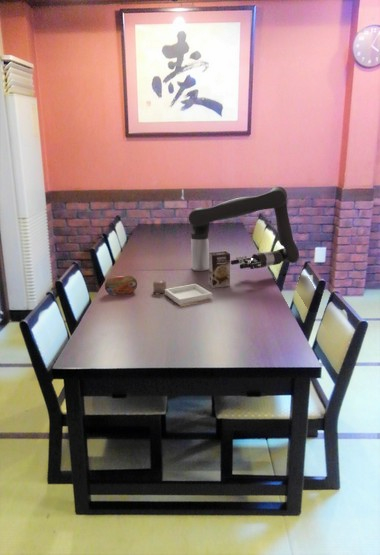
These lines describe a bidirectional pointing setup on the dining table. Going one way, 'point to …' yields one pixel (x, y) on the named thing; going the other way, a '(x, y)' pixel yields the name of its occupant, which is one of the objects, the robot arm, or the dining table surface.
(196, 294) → the dish
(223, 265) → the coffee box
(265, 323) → the dining table surface
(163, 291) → the rounded taupe cylinder
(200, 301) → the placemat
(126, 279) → the tin
